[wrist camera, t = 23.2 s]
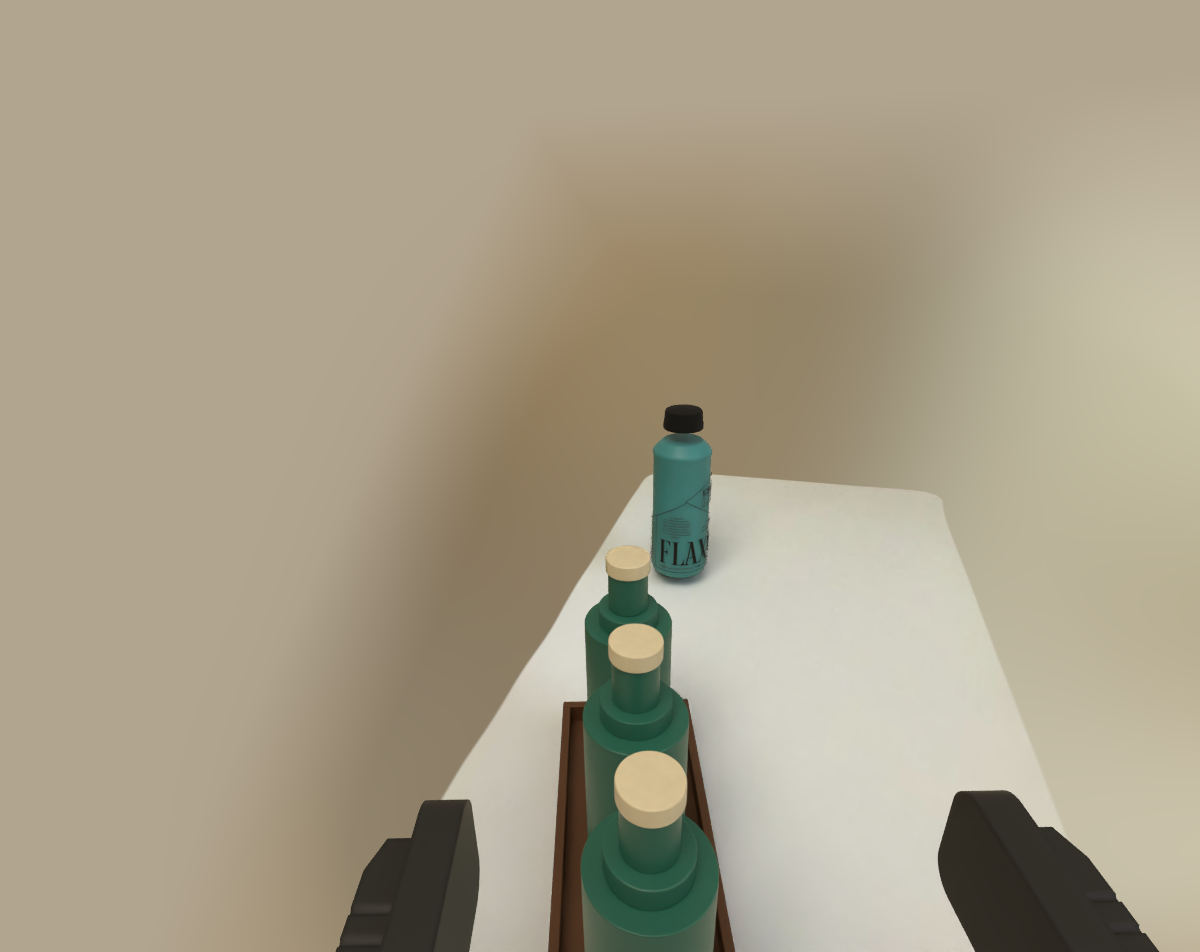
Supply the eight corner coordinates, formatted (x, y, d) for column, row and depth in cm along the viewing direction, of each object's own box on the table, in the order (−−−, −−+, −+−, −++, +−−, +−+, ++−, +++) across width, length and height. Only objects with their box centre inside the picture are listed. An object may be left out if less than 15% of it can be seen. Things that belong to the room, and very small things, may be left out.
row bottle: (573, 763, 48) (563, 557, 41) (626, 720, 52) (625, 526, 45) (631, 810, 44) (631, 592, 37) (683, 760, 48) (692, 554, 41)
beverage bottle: (650, 590, 70) (652, 417, 62) (649, 559, 76) (651, 398, 68) (709, 591, 70) (719, 417, 62) (704, 560, 76) (712, 398, 68)
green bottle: (564, 1036, 32) (545, 780, 25) (641, 946, 36) (643, 702, 29) (653, 1147, 28) (660, 882, 21) (728, 1033, 32) (755, 777, 25)
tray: (767, 1165, 28) (771, 1143, 27) (538, 1170, 28) (536, 1148, 27) (686, 717, 53) (687, 698, 52) (564, 720, 53) (563, 701, 52)
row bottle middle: (569, 871, 40) (556, 641, 33) (631, 812, 44) (631, 594, 37) (639, 940, 36) (641, 697, 29) (700, 868, 40) (715, 638, 33)
